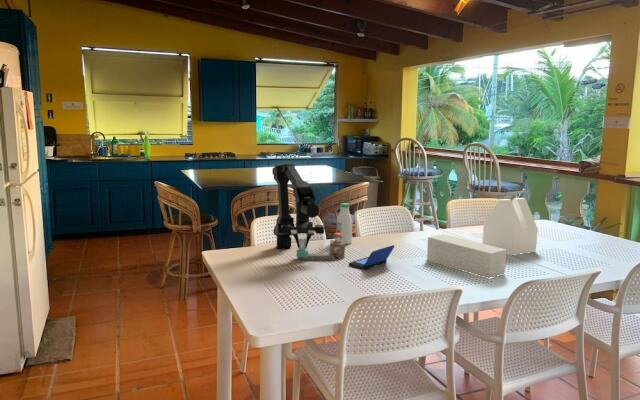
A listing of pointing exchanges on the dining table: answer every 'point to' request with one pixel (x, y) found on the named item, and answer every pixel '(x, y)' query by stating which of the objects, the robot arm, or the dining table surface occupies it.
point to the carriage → (302, 248)
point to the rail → (318, 257)
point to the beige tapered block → (511, 227)
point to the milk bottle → (344, 223)
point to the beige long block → (466, 255)
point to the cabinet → (337, 249)
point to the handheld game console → (373, 259)
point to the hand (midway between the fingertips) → (302, 248)
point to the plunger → (337, 237)
